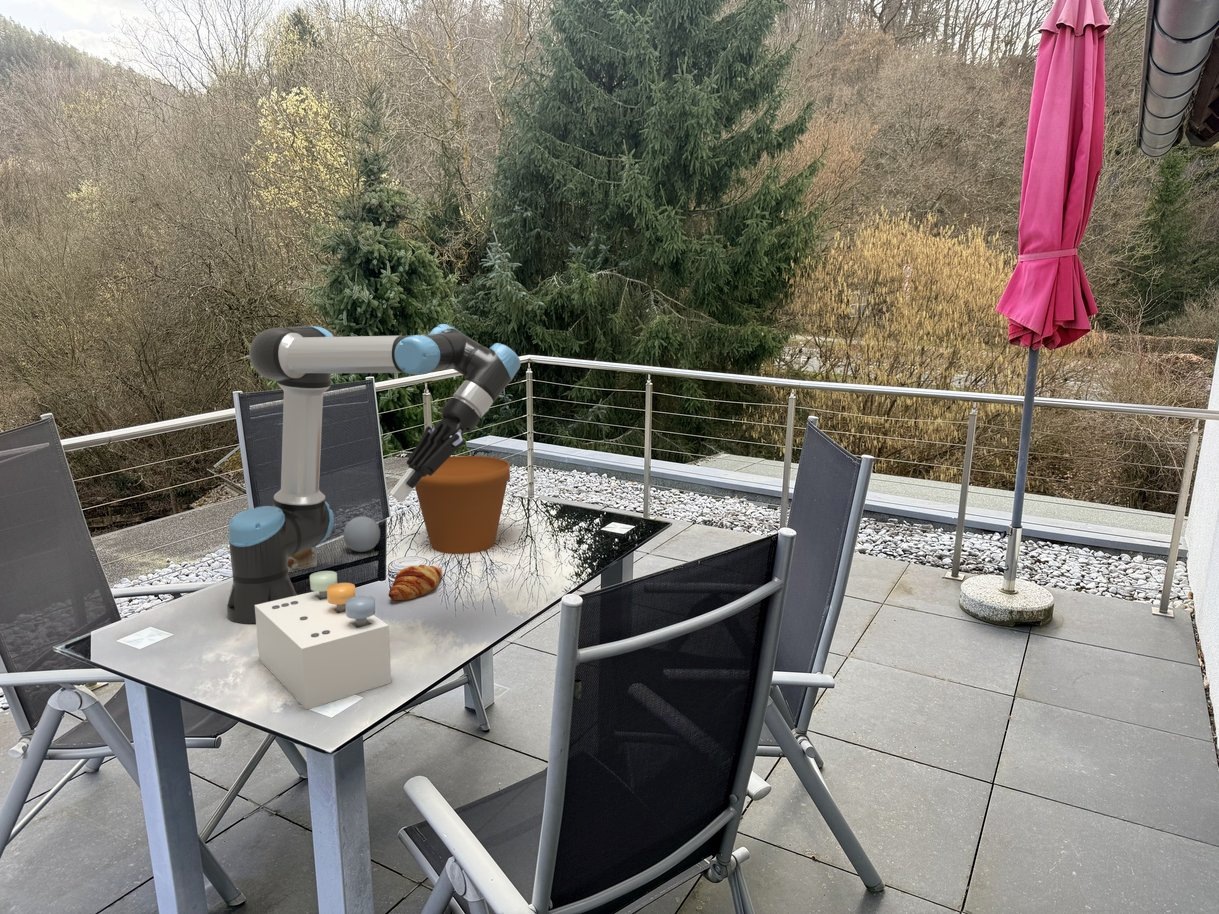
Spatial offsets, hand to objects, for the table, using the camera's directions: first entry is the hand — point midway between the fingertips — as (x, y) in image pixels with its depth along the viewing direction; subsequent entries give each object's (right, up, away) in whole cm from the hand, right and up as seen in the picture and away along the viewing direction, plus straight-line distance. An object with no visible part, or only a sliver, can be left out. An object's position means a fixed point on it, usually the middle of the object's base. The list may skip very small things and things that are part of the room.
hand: (395, 497), depth 162 cm
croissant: (-5, -25, +39) cm, 47 cm away
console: (-13, -33, -4) cm, 36 cm away
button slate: (-4, -24, -10) cm, 26 cm away
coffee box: (-41, -22, +55) cm, 72 cm away
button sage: (-15, -21, +3) cm, 26 cm away
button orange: (-9, -23, -3) cm, 25 cm away
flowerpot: (0, -18, +76) cm, 78 cm away
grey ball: (-27, -19, +69) cm, 77 cm away
